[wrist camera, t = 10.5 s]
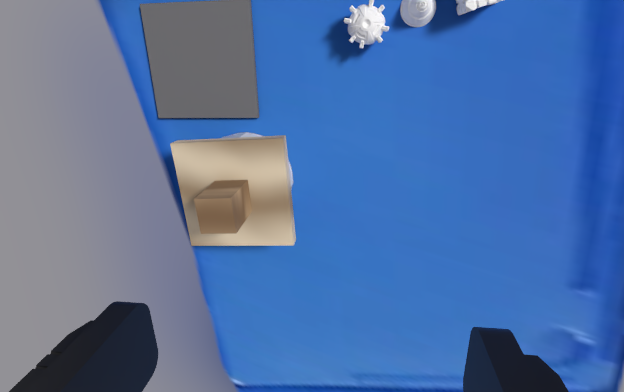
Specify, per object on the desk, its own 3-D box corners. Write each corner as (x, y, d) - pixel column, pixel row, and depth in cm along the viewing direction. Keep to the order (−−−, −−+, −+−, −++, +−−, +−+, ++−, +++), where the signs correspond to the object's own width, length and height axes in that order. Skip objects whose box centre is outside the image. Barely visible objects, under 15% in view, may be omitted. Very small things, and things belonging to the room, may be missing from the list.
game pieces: (489, -40, 30) (504, -51, 27) (495, 4, 31) (510, -1, 28) (341, 12, 32) (340, 8, 29) (352, 52, 33) (351, 52, 30)
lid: (176, 140, 34) (142, 157, 29) (285, 135, 32) (270, 151, 27) (196, 240, 37) (169, 271, 32) (295, 239, 36) (284, 271, 31)
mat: (142, 4, 34) (139, 3, 33) (250, -1, 32) (249, -1, 32) (160, 117, 37) (158, 117, 37) (259, 117, 36) (258, 117, 36)
